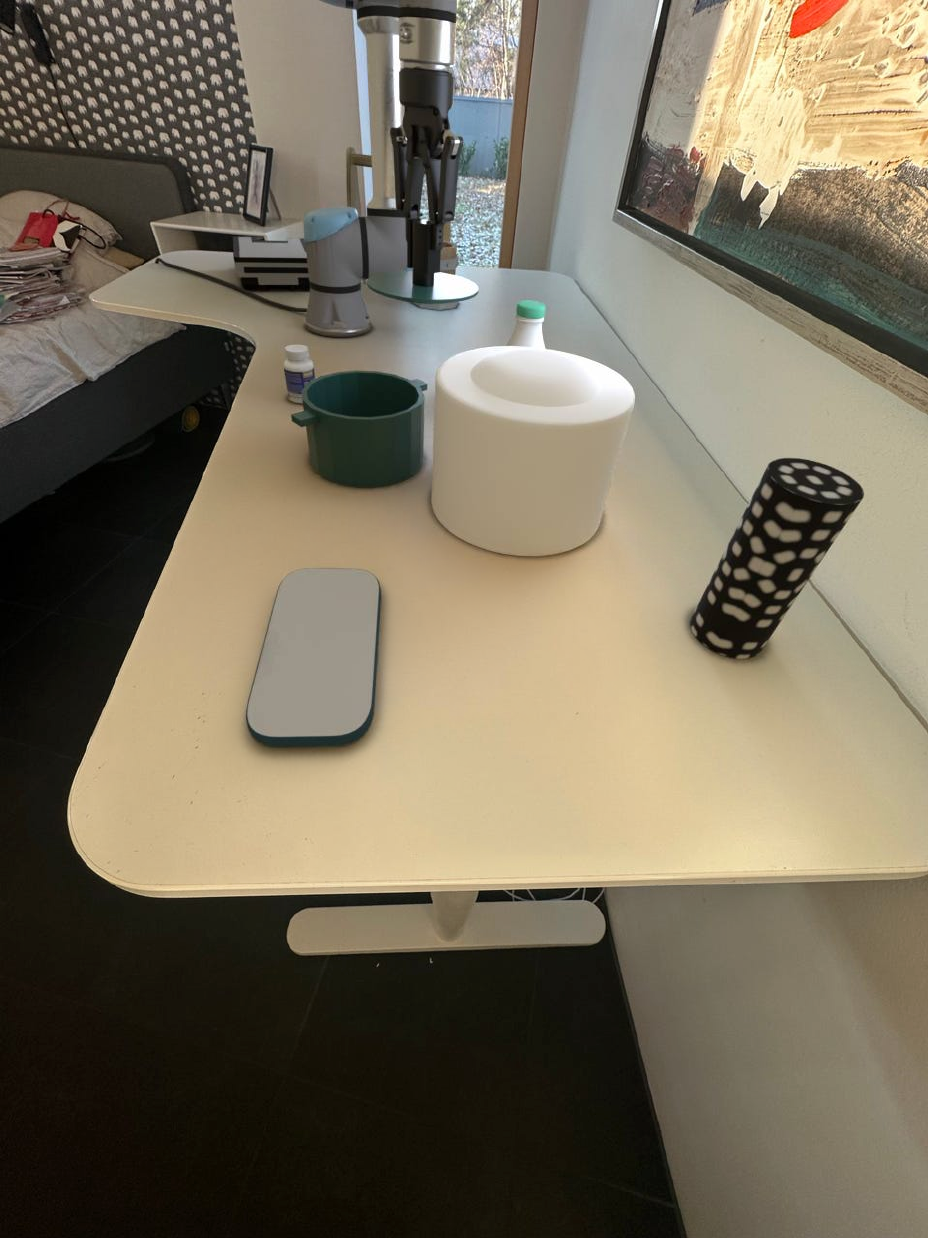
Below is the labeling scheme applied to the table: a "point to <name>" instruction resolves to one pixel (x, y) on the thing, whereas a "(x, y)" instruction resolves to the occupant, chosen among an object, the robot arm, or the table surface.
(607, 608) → the table surface
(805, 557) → the white-spotted black cylinder
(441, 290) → the lid
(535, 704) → the table surface
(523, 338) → the milk bottle
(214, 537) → the table surface
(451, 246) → the tankard
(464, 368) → the container
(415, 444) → the pot
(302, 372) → the pill bottle
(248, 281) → the game console
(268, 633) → the external hard drive
